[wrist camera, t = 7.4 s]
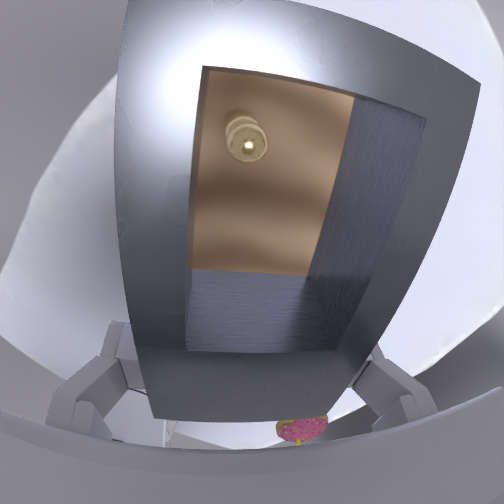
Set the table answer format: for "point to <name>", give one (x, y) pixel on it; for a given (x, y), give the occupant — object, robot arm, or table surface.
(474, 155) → the table surface
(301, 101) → the oak board
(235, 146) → the post
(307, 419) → the cupcake
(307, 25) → the steel link
